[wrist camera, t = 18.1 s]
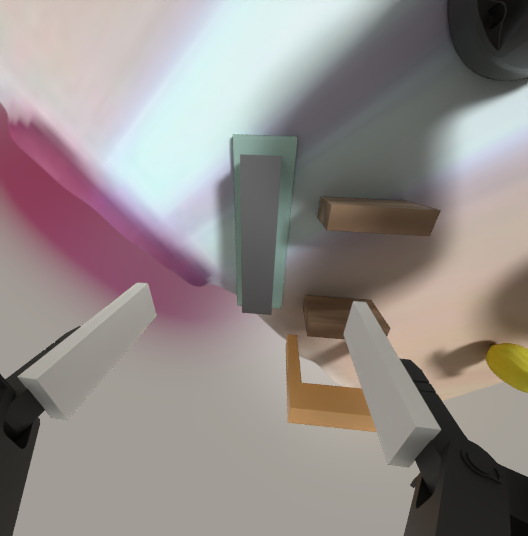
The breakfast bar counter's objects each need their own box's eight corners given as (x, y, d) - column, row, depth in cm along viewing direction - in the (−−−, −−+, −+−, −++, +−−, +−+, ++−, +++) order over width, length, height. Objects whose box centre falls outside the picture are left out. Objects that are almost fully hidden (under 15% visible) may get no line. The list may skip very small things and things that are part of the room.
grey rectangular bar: (246, 156, 23) (240, 154, 19) (281, 157, 22) (281, 156, 19) (246, 295, 31) (242, 312, 28) (272, 297, 31) (271, 314, 27)
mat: (234, 135, 22) (232, 134, 22) (297, 137, 22) (297, 136, 21) (238, 303, 33) (237, 305, 32) (281, 306, 32) (281, 308, 32)
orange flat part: (287, 334, 32) (290, 407, 22) (381, 342, 31) (427, 422, 21) (285, 347, 33) (287, 422, 23) (376, 355, 32) (416, 436, 23)
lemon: (484, 327, 31) (565, 391, 22) (523, 331, 31) (621, 398, 22) (462, 357, 34) (525, 424, 25) (497, 361, 34) (574, 429, 25)
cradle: (320, 196, 24) (331, 204, 19) (405, 200, 24) (440, 210, 19) (303, 308, 32) (307, 336, 27) (366, 313, 32) (384, 342, 26)
